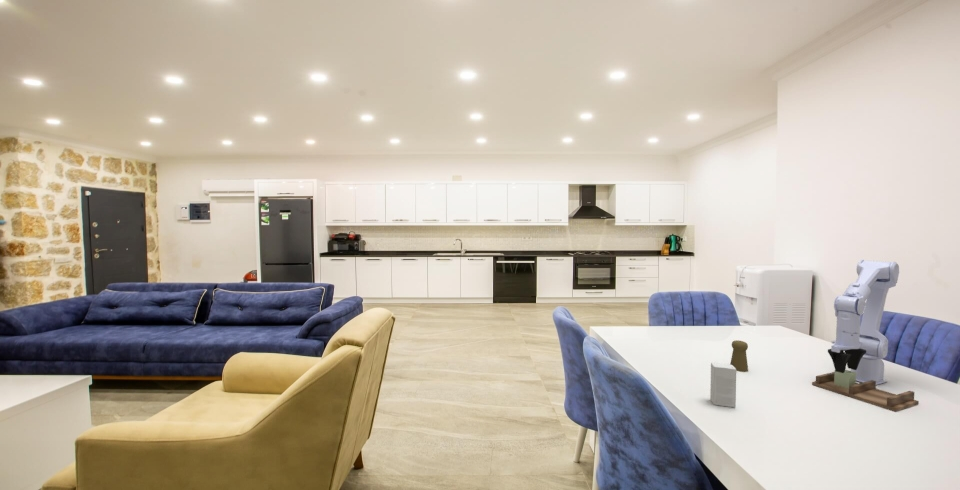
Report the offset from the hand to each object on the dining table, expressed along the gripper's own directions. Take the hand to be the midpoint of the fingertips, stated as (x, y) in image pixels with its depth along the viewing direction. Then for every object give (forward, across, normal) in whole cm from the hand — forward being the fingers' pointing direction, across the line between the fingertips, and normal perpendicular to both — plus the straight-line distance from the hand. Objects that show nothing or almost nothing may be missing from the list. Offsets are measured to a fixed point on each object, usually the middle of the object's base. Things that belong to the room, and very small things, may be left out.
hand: (845, 370), depth 129 cm
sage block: (+5, 0, 0) cm, 5 cm away
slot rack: (+6, 0, +4) cm, 8 cm away
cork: (+6, +16, -26) cm, 31 cm away
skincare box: (+6, +51, -8) cm, 52 cm away
